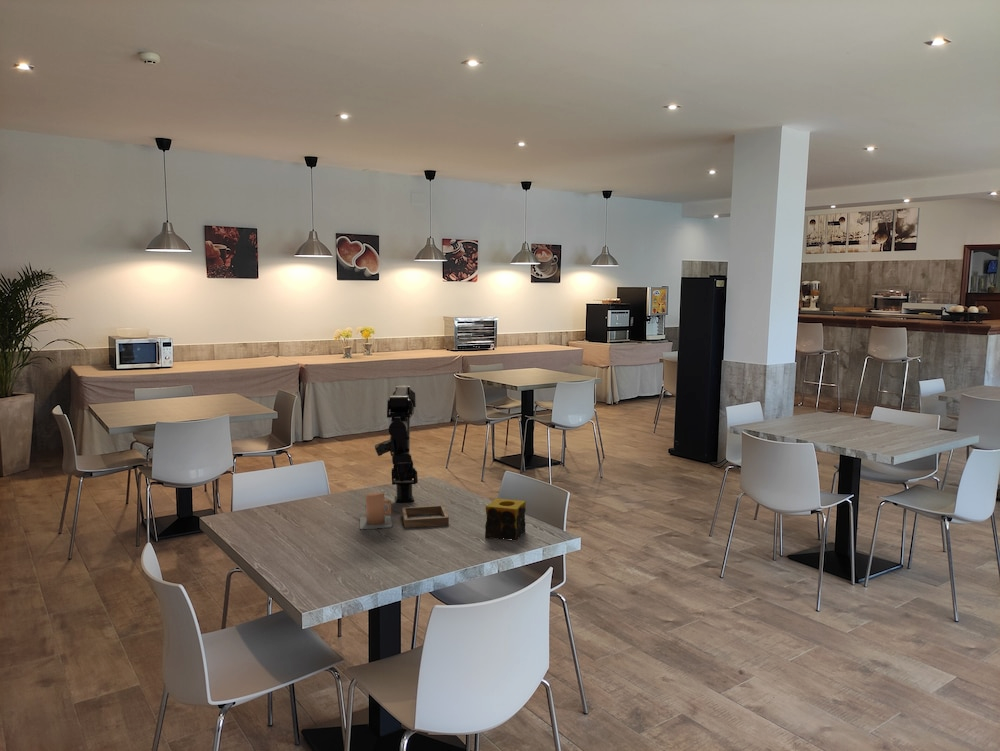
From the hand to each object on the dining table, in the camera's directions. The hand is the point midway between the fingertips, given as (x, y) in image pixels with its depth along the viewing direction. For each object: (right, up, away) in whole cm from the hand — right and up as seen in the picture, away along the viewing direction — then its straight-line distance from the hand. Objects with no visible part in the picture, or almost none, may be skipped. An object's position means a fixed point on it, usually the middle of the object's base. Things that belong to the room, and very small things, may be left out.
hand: (400, 477), depth 245 cm
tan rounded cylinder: (-7, -13, -10) cm, 18 cm away
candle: (+35, -15, -22) cm, 44 cm away
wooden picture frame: (+9, -13, -7) cm, 17 cm away
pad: (-7, -13, -10) cm, 18 cm away
